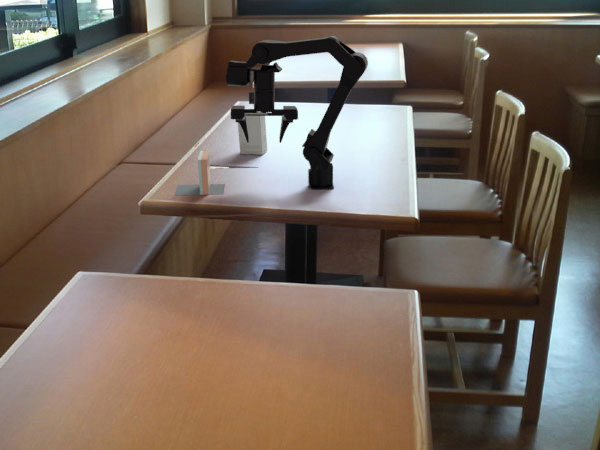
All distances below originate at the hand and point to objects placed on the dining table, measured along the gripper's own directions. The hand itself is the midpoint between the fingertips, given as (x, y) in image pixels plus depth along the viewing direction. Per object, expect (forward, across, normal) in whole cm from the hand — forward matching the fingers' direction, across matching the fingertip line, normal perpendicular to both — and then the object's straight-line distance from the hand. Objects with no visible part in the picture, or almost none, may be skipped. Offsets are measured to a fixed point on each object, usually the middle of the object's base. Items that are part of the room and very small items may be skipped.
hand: (264, 142), depth 191 cm
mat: (+13, +18, +6) cm, 23 cm away
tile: (+12, +17, +6) cm, 21 cm away
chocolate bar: (+13, +11, -12) cm, 21 cm away
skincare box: (+13, +3, -33) cm, 35 cm away
